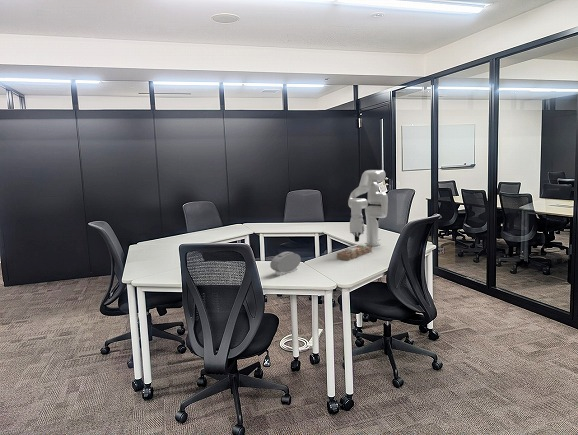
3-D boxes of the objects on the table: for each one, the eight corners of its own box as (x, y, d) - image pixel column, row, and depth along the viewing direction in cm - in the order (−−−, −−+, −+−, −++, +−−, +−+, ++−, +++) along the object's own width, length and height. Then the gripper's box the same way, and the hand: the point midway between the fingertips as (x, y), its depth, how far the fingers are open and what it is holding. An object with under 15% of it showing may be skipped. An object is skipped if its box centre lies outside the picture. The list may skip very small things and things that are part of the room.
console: (359, 250, 326) (359, 244, 325) (371, 251, 319) (371, 245, 319) (337, 258, 301) (336, 252, 301) (349, 260, 295) (349, 254, 294)
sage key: (361, 248, 322) (360, 243, 321) (366, 248, 319) (366, 244, 318) (357, 249, 318) (357, 245, 318) (363, 249, 315) (363, 245, 314)
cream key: (350, 252, 310) (349, 247, 309) (356, 252, 306) (355, 248, 306) (346, 253, 306) (346, 248, 305) (352, 254, 303) (352, 249, 302)
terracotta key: (355, 251, 316) (355, 247, 315) (361, 252, 313) (361, 248, 312) (352, 252, 312) (352, 248, 312) (358, 253, 309) (358, 249, 308)
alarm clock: (293, 267, 281) (293, 248, 279) (301, 268, 277) (300, 249, 275) (270, 275, 263) (269, 255, 262) (277, 276, 259) (277, 256, 258)
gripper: (368, 216, 307) (368, 241, 310) (350, 215, 316) (350, 239, 319) (363, 218, 301) (363, 243, 304) (344, 216, 311) (345, 241, 314)
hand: (356, 241), depth 312 cm, fingers closed
